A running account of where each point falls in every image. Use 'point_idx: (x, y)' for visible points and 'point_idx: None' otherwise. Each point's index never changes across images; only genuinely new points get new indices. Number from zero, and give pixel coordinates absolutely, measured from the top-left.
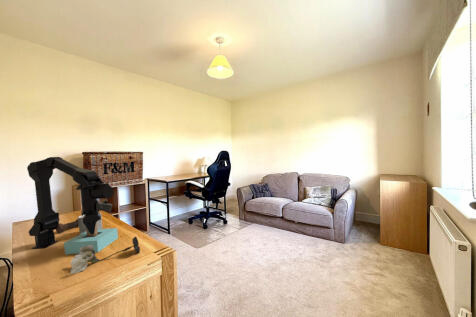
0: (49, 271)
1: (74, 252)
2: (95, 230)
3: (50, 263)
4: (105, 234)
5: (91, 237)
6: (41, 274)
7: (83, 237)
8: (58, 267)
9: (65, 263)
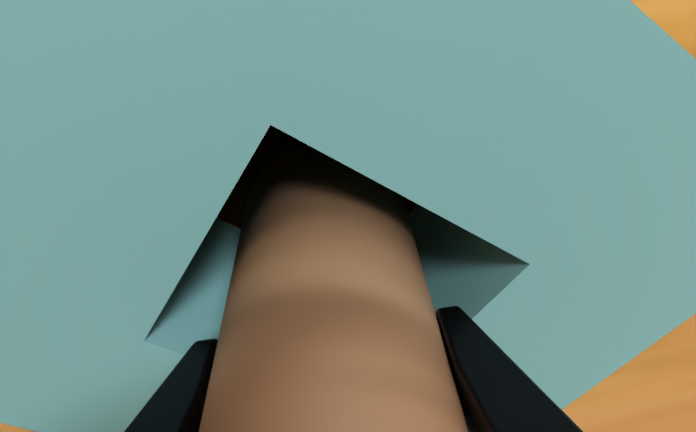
0: (687, 403)
1: None
2: (429, 334)
3: None
4: (596, 44)
5: (510, 302)
6: (685, 428)
7: None
8: (676, 372)
9: None
